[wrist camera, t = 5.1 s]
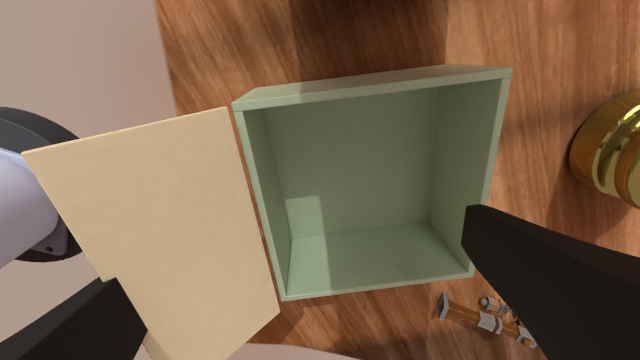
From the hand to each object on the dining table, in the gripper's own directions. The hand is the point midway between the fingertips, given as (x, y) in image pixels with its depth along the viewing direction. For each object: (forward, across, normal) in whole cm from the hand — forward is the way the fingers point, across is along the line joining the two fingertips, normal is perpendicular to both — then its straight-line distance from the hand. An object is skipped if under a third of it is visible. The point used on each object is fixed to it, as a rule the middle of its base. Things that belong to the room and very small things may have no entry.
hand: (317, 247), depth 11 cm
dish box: (+8, -3, 0) cm, 9 cm away
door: (0, +5, 0) cm, 5 cm away
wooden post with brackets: (+8, -14, +15) cm, 22 cm away
